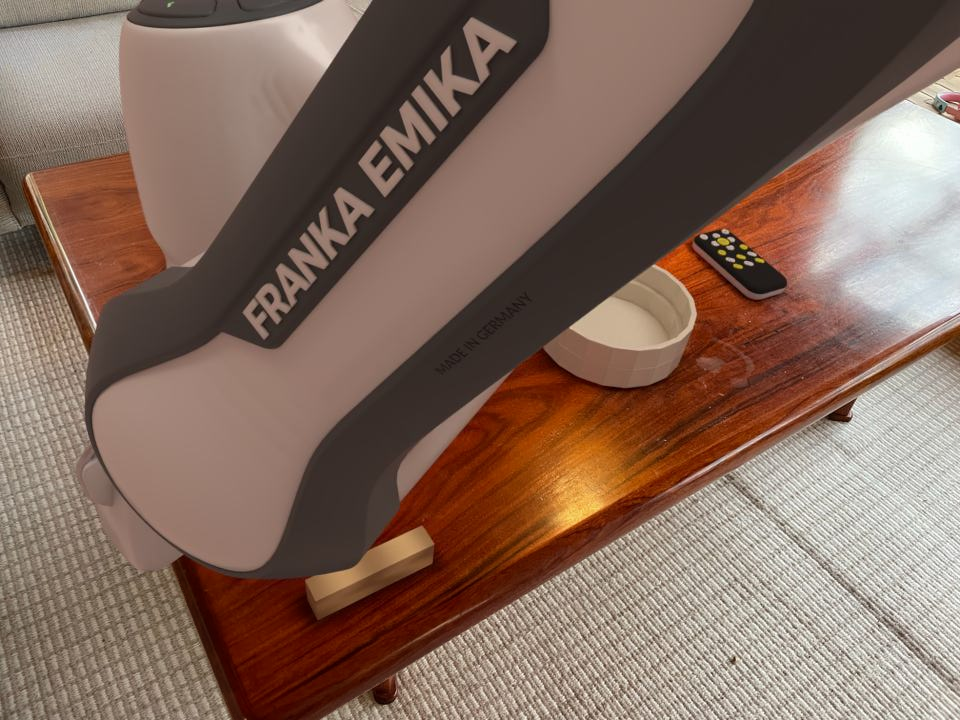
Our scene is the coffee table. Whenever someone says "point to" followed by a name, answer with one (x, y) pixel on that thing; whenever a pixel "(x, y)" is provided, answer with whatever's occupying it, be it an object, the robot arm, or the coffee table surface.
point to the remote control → (739, 264)
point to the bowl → (630, 333)
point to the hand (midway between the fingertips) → (295, 498)
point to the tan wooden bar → (370, 572)
